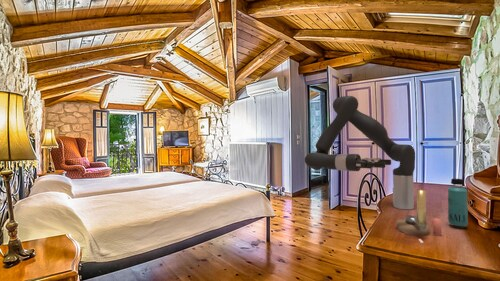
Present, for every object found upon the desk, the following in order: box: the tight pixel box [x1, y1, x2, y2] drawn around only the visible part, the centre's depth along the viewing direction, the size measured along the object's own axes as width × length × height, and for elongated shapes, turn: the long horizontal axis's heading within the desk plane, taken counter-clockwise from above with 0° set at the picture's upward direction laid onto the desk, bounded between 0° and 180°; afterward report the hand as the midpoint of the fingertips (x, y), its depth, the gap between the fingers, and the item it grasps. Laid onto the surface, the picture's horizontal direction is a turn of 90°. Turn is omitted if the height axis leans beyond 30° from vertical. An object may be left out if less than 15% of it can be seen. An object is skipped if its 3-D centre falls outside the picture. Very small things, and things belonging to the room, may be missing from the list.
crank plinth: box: [396, 218, 431, 237], centre depth 102 cm, size 11×11×3 cm
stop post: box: [433, 217, 442, 237], centre depth 97 cm, size 2×2×6 cm
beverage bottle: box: [447, 178, 469, 227], centre depth 104 cm, size 6×7×20 cm
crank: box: [404, 189, 427, 230], centre depth 99 cm, size 12×5×15 cm, turn 168°
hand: (388, 163), depth 102 cm, fingers open, 8 cm apart
